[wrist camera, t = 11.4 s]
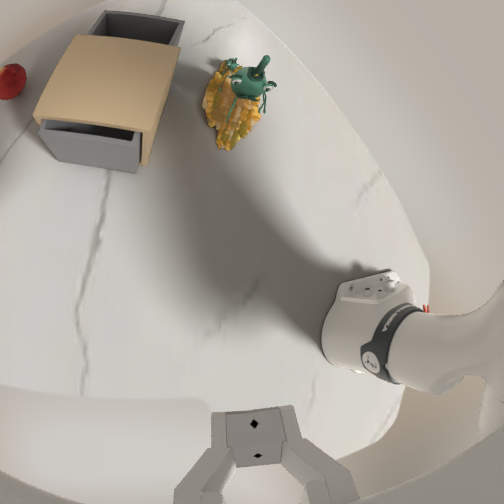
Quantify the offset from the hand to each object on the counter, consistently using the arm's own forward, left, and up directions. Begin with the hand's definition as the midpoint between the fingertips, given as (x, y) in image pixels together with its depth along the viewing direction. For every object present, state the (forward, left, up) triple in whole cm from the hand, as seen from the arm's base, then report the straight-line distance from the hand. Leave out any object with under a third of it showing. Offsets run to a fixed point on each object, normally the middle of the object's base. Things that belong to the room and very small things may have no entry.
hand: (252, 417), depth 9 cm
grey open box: (0, -29, -29) cm, 41 cm away
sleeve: (+1, -27, -30) cm, 41 cm away
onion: (+17, -39, -30) cm, 52 cm away
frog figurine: (-18, -26, -30) cm, 44 cm away
